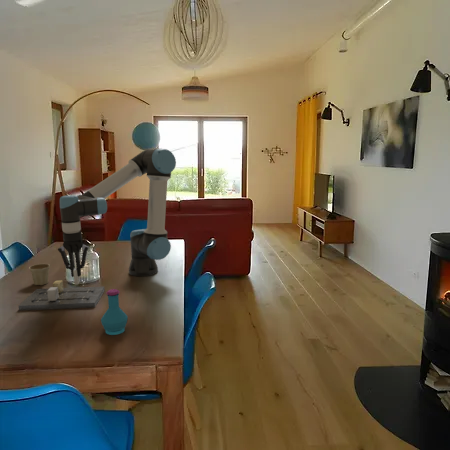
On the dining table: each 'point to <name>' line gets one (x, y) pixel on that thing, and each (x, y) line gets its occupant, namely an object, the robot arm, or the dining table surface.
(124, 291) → the dining table surface
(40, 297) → the console
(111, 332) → the perfume bottle
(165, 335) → the dining table surface
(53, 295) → the grey fader
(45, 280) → the flower pot
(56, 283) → the block
